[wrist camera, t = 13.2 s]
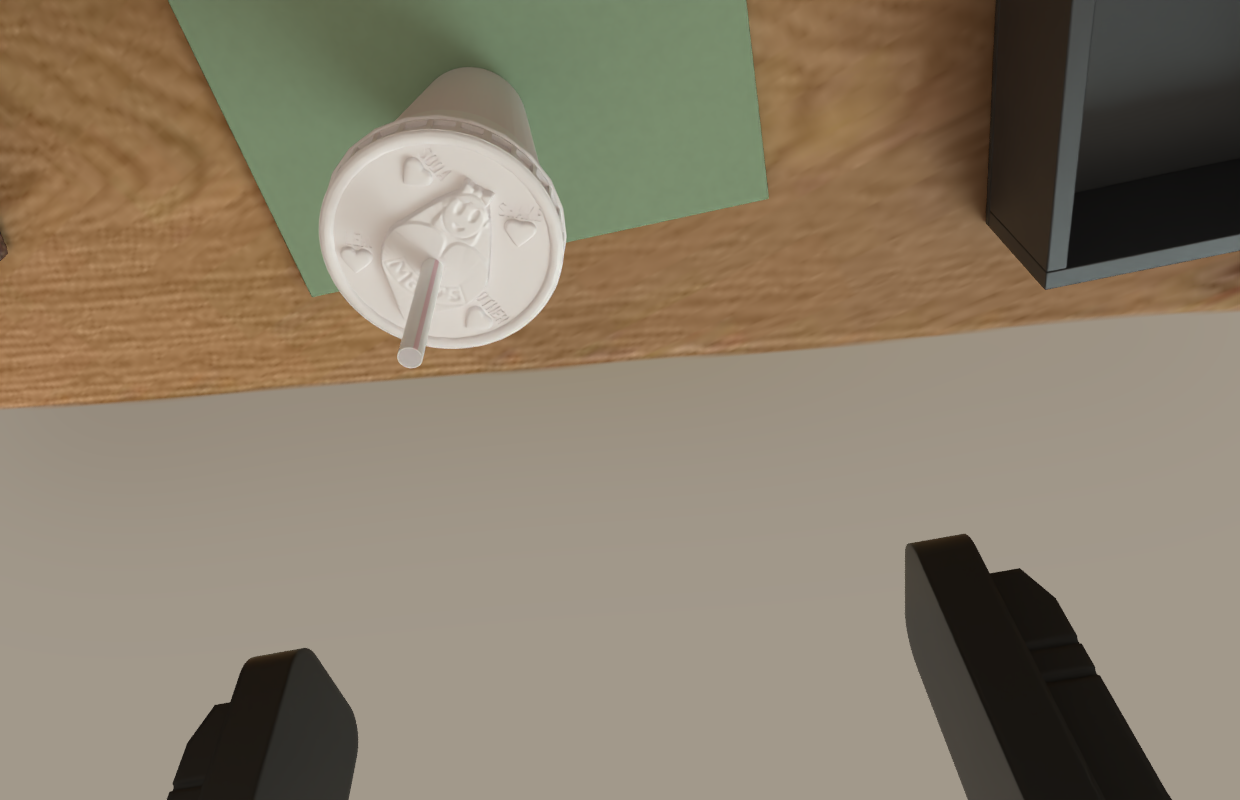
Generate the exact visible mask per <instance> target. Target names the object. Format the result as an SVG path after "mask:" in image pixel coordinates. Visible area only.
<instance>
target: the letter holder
mask: <svg viewBox="0 0 1240 800" xmlns="http://www.w3.org/2000/svg"><path fill="white" fill-rule="evenodd" d="M7 254H8V252H7V247H6V244H5V243H4V241H3V238H2V236H1V233H0V261H1V260H2V259H3V258H4V257H5V256H6V255H7Z"/></svg>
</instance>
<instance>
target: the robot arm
mask: <svg viewBox="0 0 1240 800" xmlns="http://www.w3.org/2000/svg"><path fill="white" fill-rule="evenodd" d="M905 618H906V627H907V633H908V638H909V642H910V646H911V650H912V653H913V656H914V660H915V662H916V665H917V668H918V671H919V673H920V676H921V679H922V681H923V684H924V686H925V689H926V692H927V694H928V697H929V699H930V702H931V705H932V707H933V710H934V712H935V715H936V717H937V720H938V723H939V725H940V728H941V731H942V733H943V736H944V738H945V741H946V743H947V746H948V749H949V751H950V754H951V756H952V759H953V762H954V764H955V767H956V770H957V772H958V775H959V777H960V780H961V783H962V785H963V788H964V791H965V793H966V796H967V798H968V800H1172V799H1171V798H1170V796H1169V795H1168V793H1167V792H1166V790H1165V788H1164V786H1163V785H1162V783H1161V782H1160V780H1159V778H1158V776H1157V774H1156V773H1155V771H1154V769H1153V767H1152V766H1151V764H1150V762H1149V760H1148V759H1147V757H1146V755H1145V753H1144V752H1143V750H1142V748H1141V746H1140V745H1139V743H1138V741H1137V739H1136V738H1135V736H1134V734H1133V732H1132V731H1131V729H1130V727H1129V725H1128V724H1127V722H1126V720H1125V718H1124V717H1123V715H1122V713H1121V712H1120V710H1119V708H1118V706H1117V705H1116V703H1115V701H1114V699H1113V698H1112V696H1111V694H1110V692H1109V691H1108V689H1107V687H1106V685H1105V684H1104V682H1103V680H1102V679H1101V677H1100V676H1099V675H1097V674H1096V671H1095V666H1094V665H1093V663H1092V661H1091V659H1090V657H1089V656H1088V654H1087V653H1086V650H1085V649H1084V647H1083V645H1082V644H1079V642H1078V640H1077V635H1076V633H1075V632H1074V630H1073V628H1072V626H1071V624H1070V623H1069V621H1068V619H1067V617H1066V616H1065V614H1064V612H1063V610H1062V609H1061V607H1060V605H1059V603H1058V602H1057V600H1056V598H1055V597H1053V596H1052V595H1051V594H1050V593H1049V592H1047V591H1046V590H1045V589H1044V588H1043V587H1042V586H1040V585H1039V584H1038V583H1037V582H1035V581H1034V580H1033V579H1032V578H1031V577H1030V576H1028V575H1027V574H1026V573H1024V571H1022V570H1021V569H1020V568H1019V569H1013V570H1007V571H1002V572H996V573H989V571H988V569H987V568H986V565H985V564H984V562H983V560H982V558H981V556H980V554H979V552H978V550H977V548H976V546H975V544H974V542H973V541H972V540H971V538H970V537H969V536H968V535H966V534H960V535H955V536H949V537H943V538H938V539H932V540H927V541H921V542H915V543H910V544H907V546H906V549H905ZM357 752H358V731H357V725H356V720H355V717H354V714H353V711H352V709H351V707H350V706H349V704H348V703H347V701H346V700H345V698H344V697H343V695H342V694H341V692H340V691H339V689H338V688H337V686H336V685H335V683H334V682H333V680H332V679H331V677H330V676H329V674H328V673H327V671H326V670H325V669H324V667H323V666H322V664H321V662H320V661H319V659H318V658H317V657H316V655H315V654H314V653H313V652H312V651H311V650H310V649H307V648H302V649H297V650H290V651H285V652H279V653H273V654H268V655H262V656H257V657H253V658H250V659H249V660H248V661H247V662H246V663H245V664H244V666H243V668H242V670H241V673H240V675H239V678H238V681H237V684H236V687H235V690H234V693H233V696H232V699H231V702H230V703H224V704H218V705H215V706H214V707H213V709H212V710H211V711H210V713H209V714H208V715H207V717H206V718H205V720H204V721H203V722H202V724H201V725H200V727H199V728H198V729H197V731H196V732H195V733H194V735H193V736H192V737H191V739H190V740H189V742H188V743H187V746H186V749H185V751H184V754H183V757H182V760H181V762H180V765H179V768H178V770H177V773H176V776H175V778H174V781H173V785H174V789H173V791H171V792H169V795H168V798H167V800H348V799H349V794H350V789H351V784H352V778H353V773H354V768H355V763H356V758H357Z"/></svg>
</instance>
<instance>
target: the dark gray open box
mask: <svg viewBox="0 0 1240 800" xmlns="http://www.w3.org/2000/svg"><path fill="white" fill-rule="evenodd" d="M986 224H987V225H988V226H989V227H990V228H991V229H992V230H993V232H994V233H995V234H996V235H997V236H998V237H999V238H1000V240H1001V241H1002V242H1003V243H1004V244H1005V245H1006V246H1007V247H1008V249H1009V250H1010V251H1011V252H1012V253H1013V254H1014V255H1015V257H1016V258H1017V259H1018V260H1019V261H1020V262H1021V263H1022V264H1023V266H1024V267H1025V268H1026V269H1027V270H1028V271H1029V272H1030V273H1031V275H1032V276H1033V277H1034V278H1035V279H1036V280H1037V281H1038V283H1039V284H1040V285H1041V286H1042V287H1043V288H1044V289H1045V290H1047V289H1052V288H1057V287H1062V286H1067V285H1072V284H1077V283H1081V282H1086V281H1091V280H1096V279H1101V278H1106V277H1111V276H1116V275H1121V274H1126V273H1131V272H1136V271H1141V270H1146V269H1151V268H1156V267H1161V266H1166V265H1171V264H1176V263H1181V262H1186V261H1190V260H1195V259H1200V258H1205V257H1210V256H1215V255H1220V254H1225V253H1230V252H1235V251H1240V0H996V11H995V33H994V55H993V77H992V99H991V121H990V143H989V164H988V186H987V208H986Z"/></svg>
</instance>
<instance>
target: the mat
mask: <svg viewBox="0 0 1240 800" xmlns="http://www.w3.org/2000/svg"><path fill="white" fill-rule="evenodd" d="M168 2H169V4H170V6H171V8H172V10H173V12H174V14H175V16H176V18H177V20H178V22H179V24H180V26H181V28H182V30H183V32H184V34H185V37H186V39H187V41H188V43H189V45H190V47H191V49H192V51H193V53H194V55H195V57H196V59H197V61H198V63H199V65H200V67H201V69H202V72H203V74H204V76H205V78H206V80H207V82H208V84H209V86H210V88H211V90H212V92H213V94H214V96H215V98H216V100H217V102H218V104H219V107H220V109H221V111H222V113H223V115H224V117H225V119H226V121H227V123H228V125H229V127H230V129H231V131H232V133H233V135H234V137H235V139H236V142H237V144H238V146H239V148H240V150H241V152H242V154H243V156H244V158H245V160H246V162H247V164H248V166H249V168H250V170H251V172H252V174H253V177H254V179H255V181H256V183H257V185H258V187H259V189H260V191H261V193H262V195H263V197H264V199H265V201H266V203H267V205H268V207H269V209H270V212H271V214H272V216H273V218H274V220H275V222H276V224H277V226H278V228H279V230H280V232H281V234H282V236H283V238H284V240H285V242H286V244H287V247H288V249H289V251H290V253H291V255H292V257H293V259H294V261H295V263H296V265H297V267H298V269H299V271H300V273H301V275H302V277H303V279H304V282H305V284H306V286H307V288H308V290H309V292H310V294H311V296H312V297H315V296H320V295H324V294H329V293H334V292H338V291H339V290H338V288H337V287H336V285H335V284H334V282H333V280H332V278H331V276H330V274H329V272H328V270H327V267H326V265H325V262H324V259H323V256H322V252H321V247H320V241H319V217H320V210H321V206H322V202H323V199H324V196H325V194H326V191H327V189H328V185H329V182H330V179H331V175H332V173H333V171H334V170H335V168H336V167H337V165H338V164H339V162H340V161H341V160H342V158H343V157H344V155H345V154H346V152H347V151H348V150H349V148H350V147H352V146H353V145H354V144H355V143H357V142H358V141H359V140H361V139H362V138H363V137H365V136H366V135H367V134H368V133H370V132H371V131H372V130H374V129H376V128H378V127H381V126H383V125H386V124H389V123H391V122H394V121H395V120H396V119H397V118H398V117H399V116H400V115H401V114H402V113H403V112H404V111H405V110H406V109H407V108H408V107H409V106H410V105H411V104H412V103H413V102H414V101H415V100H416V99H417V98H418V97H419V96H420V95H421V94H422V93H423V91H424V90H425V89H426V88H427V87H428V86H429V85H430V84H431V83H432V82H433V81H434V80H435V79H437V78H438V77H439V76H441V75H442V74H444V73H446V72H448V71H450V70H453V69H456V68H462V67H476V68H481V69H485V70H488V71H491V72H493V73H495V74H497V75H499V76H500V77H502V78H503V79H504V80H506V81H507V82H508V83H509V84H510V85H511V86H512V87H513V88H514V89H515V91H516V92H517V94H518V95H519V97H520V99H521V101H522V103H523V105H524V108H525V112H526V116H527V119H528V123H529V127H530V131H531V135H532V138H533V142H534V146H535V150H536V154H537V157H538V161H539V165H540V166H541V167H542V169H543V170H544V171H545V172H546V174H547V175H548V176H549V178H550V179H551V180H552V183H553V185H554V187H555V190H556V192H557V195H558V197H559V199H560V202H561V204H562V207H563V210H564V219H565V227H566V235H567V239H566V242H570V241H575V240H580V239H584V238H589V237H593V236H598V235H603V234H607V233H612V232H617V231H621V230H626V229H631V228H635V227H640V226H644V225H649V224H654V223H658V222H663V221H668V220H672V219H677V218H682V217H686V216H691V215H695V214H700V213H705V212H709V211H714V210H719V209H723V208H728V207H733V206H737V205H742V204H746V203H751V202H756V201H760V200H765V199H768V198H769V195H768V186H767V177H766V169H765V160H764V151H763V143H762V134H761V125H760V116H759V108H758V99H757V90H756V82H755V73H754V64H753V55H752V47H751V38H750V29H749V20H748V12H747V3H746V0H168Z"/></svg>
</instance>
